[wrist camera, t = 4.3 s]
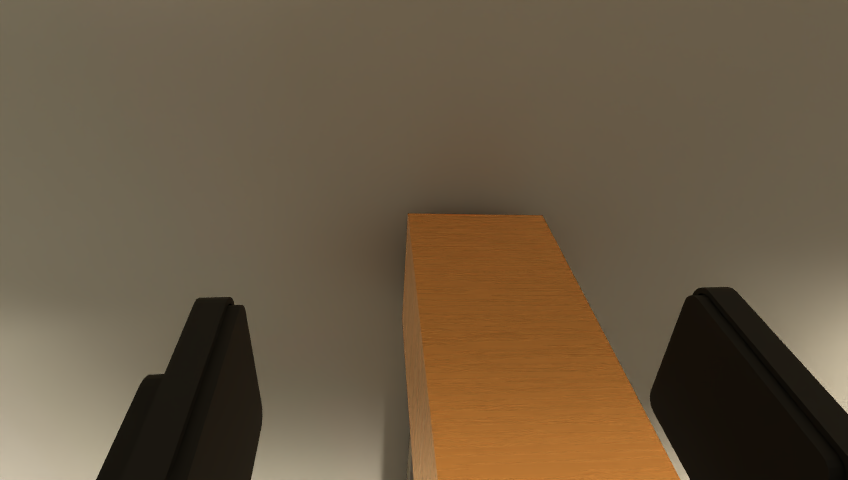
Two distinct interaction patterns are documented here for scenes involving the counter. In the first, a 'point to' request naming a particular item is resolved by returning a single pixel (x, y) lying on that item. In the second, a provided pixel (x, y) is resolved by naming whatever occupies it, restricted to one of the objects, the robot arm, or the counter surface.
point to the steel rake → (512, 361)
